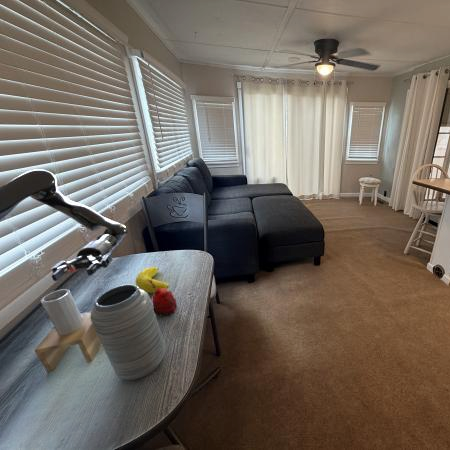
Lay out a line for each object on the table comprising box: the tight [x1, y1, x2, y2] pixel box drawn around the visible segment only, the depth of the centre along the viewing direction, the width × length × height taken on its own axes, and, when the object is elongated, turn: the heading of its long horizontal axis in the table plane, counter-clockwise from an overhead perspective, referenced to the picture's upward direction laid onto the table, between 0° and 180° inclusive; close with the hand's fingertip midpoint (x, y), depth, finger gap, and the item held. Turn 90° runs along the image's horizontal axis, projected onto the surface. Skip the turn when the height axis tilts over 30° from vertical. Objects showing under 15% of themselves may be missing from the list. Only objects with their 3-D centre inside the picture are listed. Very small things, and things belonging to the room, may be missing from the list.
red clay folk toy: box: [148, 277, 178, 317], centre depth 81 cm, size 8×7×15 cm
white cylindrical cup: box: [40, 288, 84, 335], centre depth 65 cm, size 6×6×11 cm
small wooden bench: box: [34, 311, 102, 373], centre depth 68 cm, size 10×12×8 cm
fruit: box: [135, 266, 169, 294], centre depth 98 cm, size 10×5×20 cm
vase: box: [90, 283, 166, 381], centre depth 60 cm, size 12×12×23 cm
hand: (71, 275), depth 72 cm, fingers open, 8 cm apart
